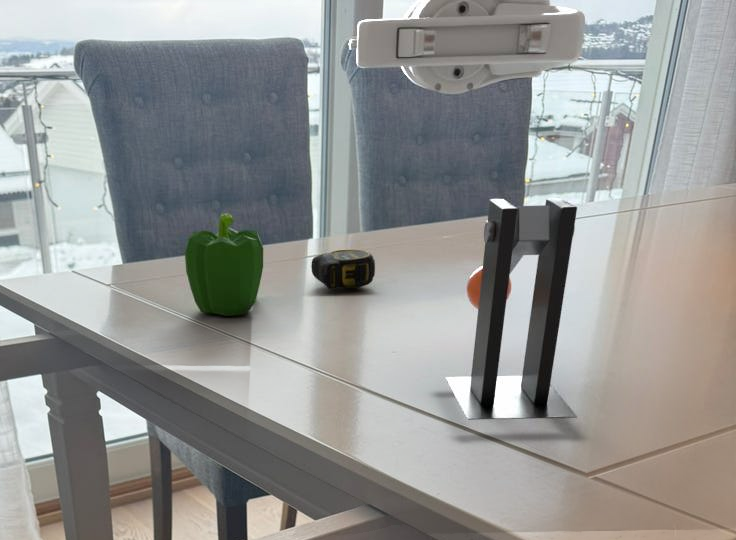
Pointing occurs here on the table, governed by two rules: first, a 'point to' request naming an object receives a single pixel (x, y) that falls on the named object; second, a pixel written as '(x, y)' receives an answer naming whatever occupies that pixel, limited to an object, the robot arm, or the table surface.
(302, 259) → the table surface
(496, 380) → the bracket
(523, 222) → the lever
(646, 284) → the table surface
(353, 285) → the tape measure
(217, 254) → the bell pepper
